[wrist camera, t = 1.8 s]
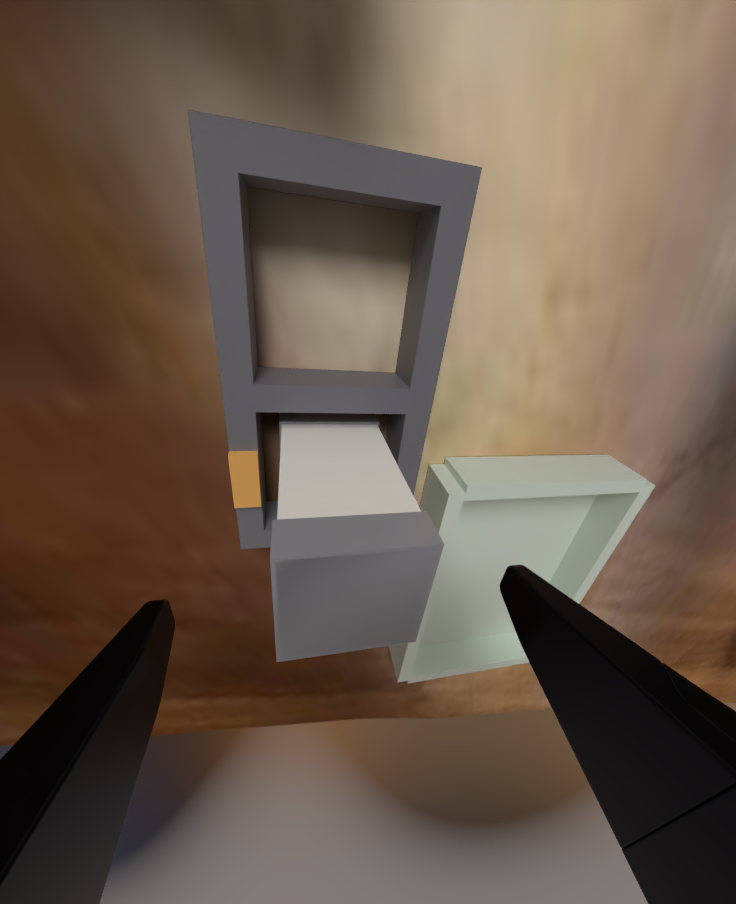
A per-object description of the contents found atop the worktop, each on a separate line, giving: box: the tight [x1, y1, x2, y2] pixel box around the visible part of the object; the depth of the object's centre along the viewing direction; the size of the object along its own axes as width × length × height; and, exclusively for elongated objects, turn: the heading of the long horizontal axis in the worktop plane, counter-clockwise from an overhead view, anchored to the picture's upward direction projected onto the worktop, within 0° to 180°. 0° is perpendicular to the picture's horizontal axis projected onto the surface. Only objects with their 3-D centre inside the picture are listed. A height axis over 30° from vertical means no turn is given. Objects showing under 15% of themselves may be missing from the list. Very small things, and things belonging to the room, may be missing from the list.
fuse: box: [270, 413, 444, 662], centre depth 12 cm, size 4×4×8 cm
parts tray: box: [389, 455, 656, 683], centre depth 21 cm, size 12×17×2 cm
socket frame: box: [188, 110, 482, 549], centre depth 13 cm, size 8×14×2 cm, turn 174°
